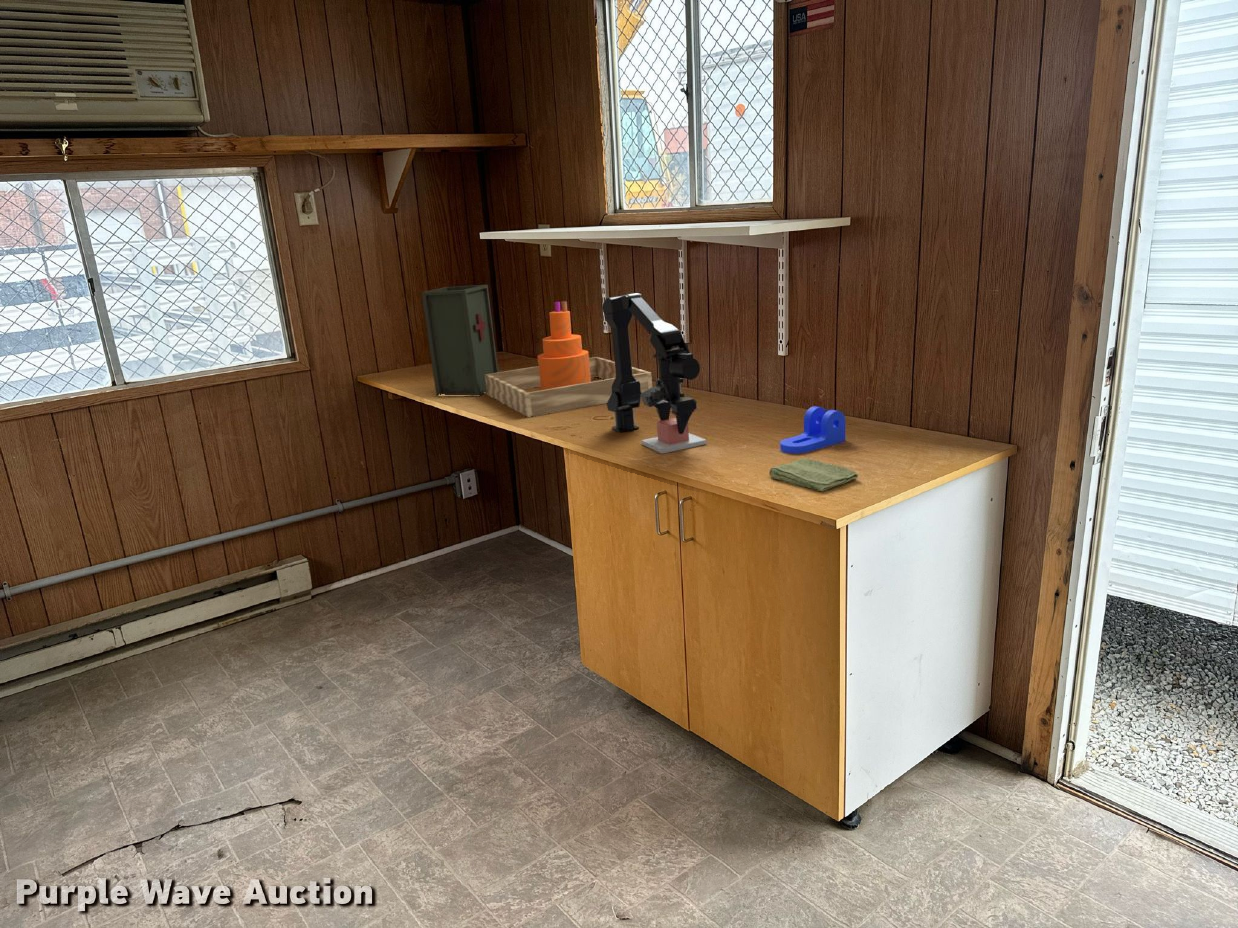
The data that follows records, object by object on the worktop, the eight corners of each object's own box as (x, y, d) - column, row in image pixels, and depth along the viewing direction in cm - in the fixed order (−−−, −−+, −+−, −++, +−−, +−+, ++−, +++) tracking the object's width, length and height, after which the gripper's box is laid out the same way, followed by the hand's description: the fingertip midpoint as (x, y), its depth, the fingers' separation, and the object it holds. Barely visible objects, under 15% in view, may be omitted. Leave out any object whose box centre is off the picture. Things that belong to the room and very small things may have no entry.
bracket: (822, 435, 231) (822, 404, 228) (845, 441, 224) (845, 408, 221) (773, 450, 222) (772, 417, 219) (796, 456, 215) (795, 422, 212)
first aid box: (479, 396, 320) (465, 290, 308) (436, 396, 325) (421, 292, 314) (500, 385, 336) (487, 284, 325) (459, 386, 342) (445, 287, 331)
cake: (533, 401, 300) (535, 302, 291) (540, 392, 318) (541, 298, 309) (590, 404, 300) (593, 305, 290) (593, 394, 318) (596, 300, 309)
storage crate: (487, 395, 320) (484, 374, 318) (599, 376, 339) (597, 356, 336) (528, 417, 279) (525, 394, 277) (652, 394, 298) (651, 372, 295)
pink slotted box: (657, 439, 235) (656, 420, 234) (677, 435, 238) (676, 416, 236) (668, 444, 230) (667, 425, 228) (689, 440, 232) (688, 421, 230)
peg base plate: (641, 444, 236) (640, 428, 235) (684, 435, 242) (684, 419, 240) (661, 453, 226) (660, 436, 225) (706, 444, 231) (705, 427, 230)
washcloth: (823, 495, 186) (823, 482, 185) (765, 479, 200) (765, 466, 199) (861, 481, 193) (861, 468, 192) (803, 466, 207) (803, 454, 206)
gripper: (628, 375, 233) (632, 429, 238) (659, 385, 217) (663, 442, 221) (663, 369, 238) (666, 422, 242) (696, 378, 221) (699, 435, 226)
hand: (672, 430), depth 233 cm, fingers open, 9 cm apart
